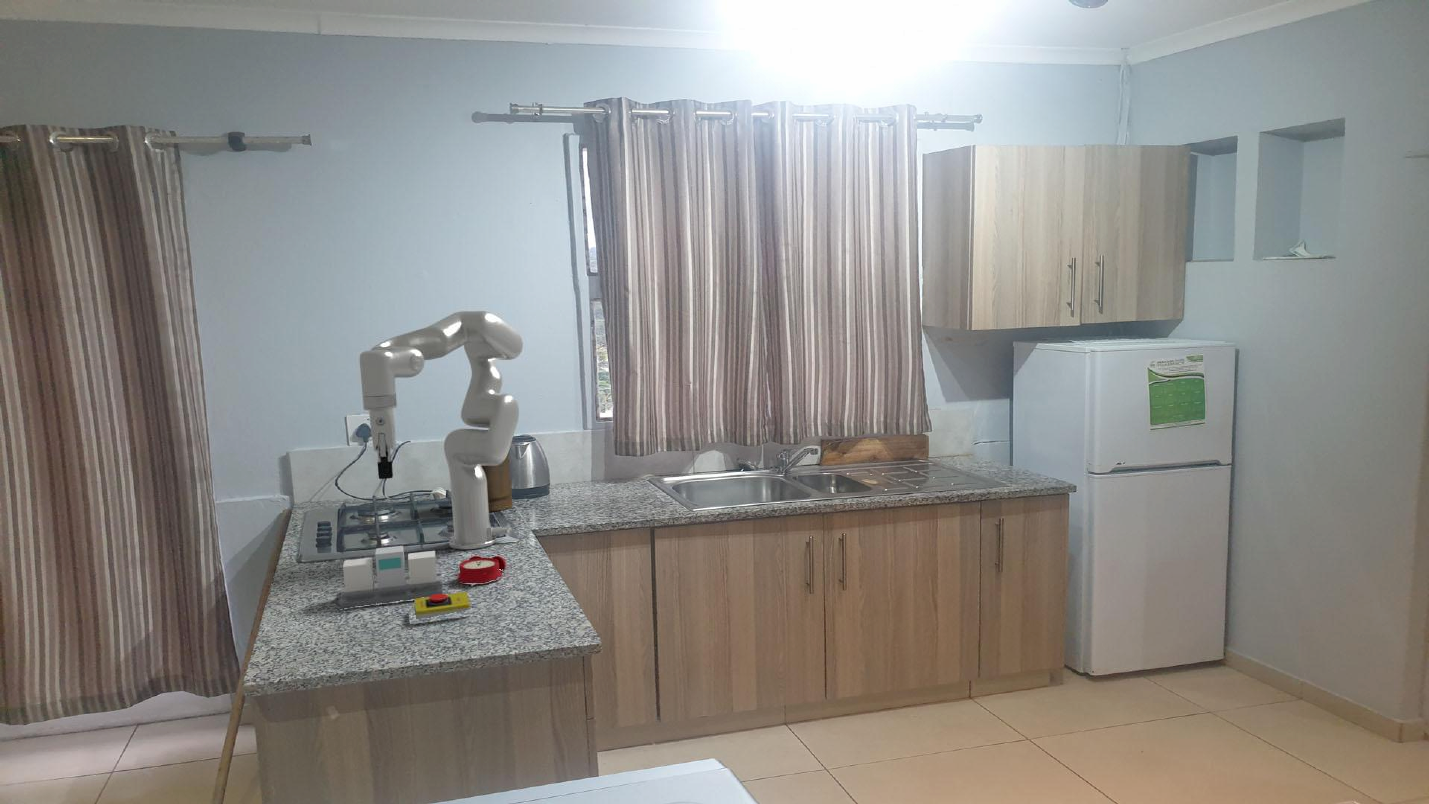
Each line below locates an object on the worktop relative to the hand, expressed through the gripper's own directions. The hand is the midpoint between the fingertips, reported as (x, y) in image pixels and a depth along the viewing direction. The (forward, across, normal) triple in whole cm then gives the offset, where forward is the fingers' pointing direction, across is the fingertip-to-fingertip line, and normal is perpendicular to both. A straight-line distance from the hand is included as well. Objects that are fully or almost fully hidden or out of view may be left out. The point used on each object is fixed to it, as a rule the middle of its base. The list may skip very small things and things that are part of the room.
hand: (385, 477), depth 232 cm
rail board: (+25, -12, 0) cm, 28 cm away
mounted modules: (+23, -12, 0) cm, 26 cm away
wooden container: (+25, +65, -27) cm, 75 cm away
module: (+23, -12, 0) cm, 26 cm away
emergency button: (+26, -30, -11) cm, 41 cm away
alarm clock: (+26, -7, -21) cm, 33 cm away
